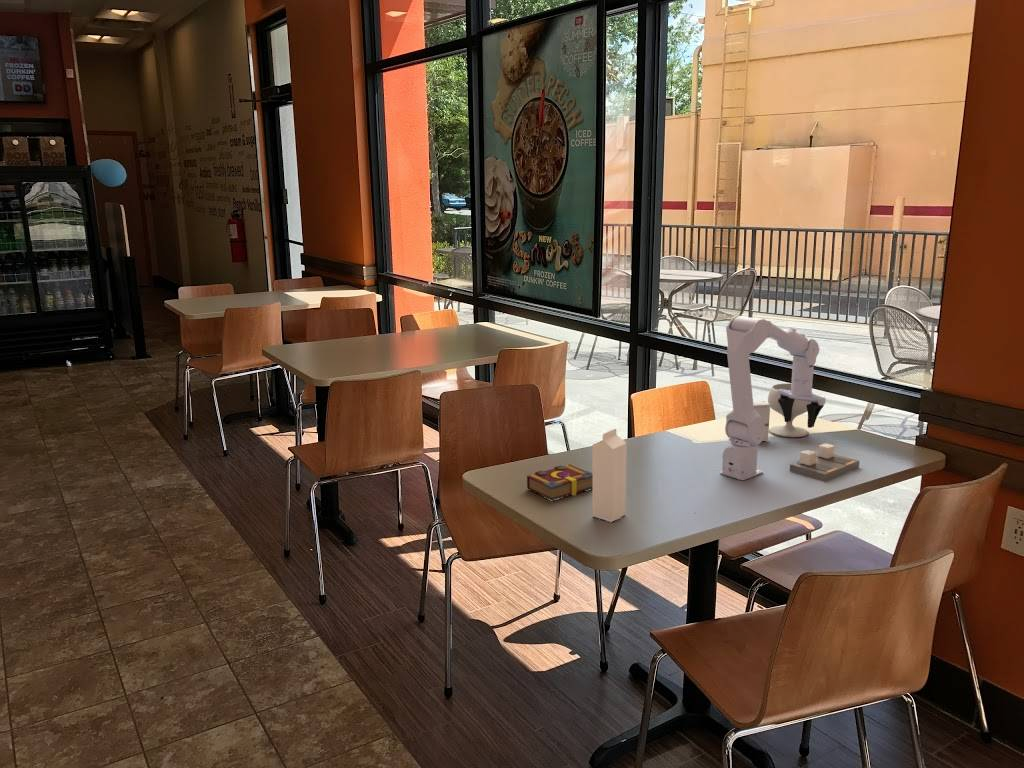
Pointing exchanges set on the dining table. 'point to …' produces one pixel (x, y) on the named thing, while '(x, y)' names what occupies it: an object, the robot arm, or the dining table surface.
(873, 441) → the dining table surface
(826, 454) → the cream cube
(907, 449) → the dining table surface
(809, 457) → the cream white cube
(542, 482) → the decorative book
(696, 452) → the dining table surface
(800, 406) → the chalice
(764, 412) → the skincare box
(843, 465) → the switch board
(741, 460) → the robot arm
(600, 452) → the milk
